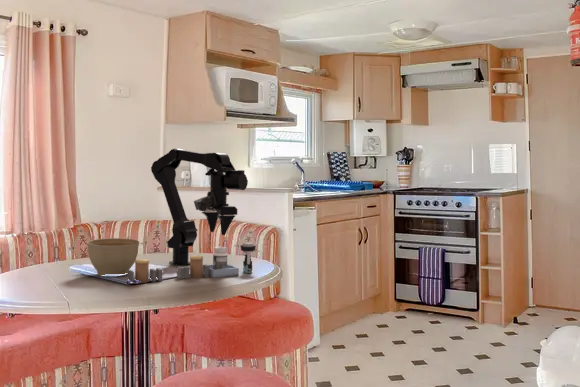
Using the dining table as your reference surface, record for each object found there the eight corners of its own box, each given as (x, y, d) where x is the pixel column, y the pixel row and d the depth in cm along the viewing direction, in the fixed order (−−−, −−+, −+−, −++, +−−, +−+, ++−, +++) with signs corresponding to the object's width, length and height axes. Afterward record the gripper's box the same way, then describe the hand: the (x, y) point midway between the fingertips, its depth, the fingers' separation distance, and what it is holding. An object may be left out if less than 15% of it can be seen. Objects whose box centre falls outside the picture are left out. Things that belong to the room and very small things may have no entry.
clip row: (127, 281, 176) (127, 270, 176) (205, 275, 190) (205, 264, 190) (130, 283, 174) (130, 272, 174) (209, 276, 188) (209, 266, 187)
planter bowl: (75, 276, 182) (75, 242, 181) (109, 268, 197) (110, 237, 196) (116, 281, 176) (117, 246, 175) (148, 273, 191) (149, 240, 190)
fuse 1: (133, 280, 178) (133, 259, 177) (146, 279, 180) (146, 258, 180) (137, 283, 174) (137, 261, 174) (150, 282, 177) (150, 260, 176)
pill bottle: (213, 270, 195) (213, 246, 194) (227, 270, 195) (227, 246, 195) (212, 273, 190) (213, 248, 189) (226, 273, 190) (227, 248, 190)
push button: (257, 274, 194) (258, 244, 194) (241, 274, 193) (242, 244, 192) (253, 270, 201) (254, 241, 200) (238, 270, 199) (239, 242, 199)
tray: (201, 272, 194) (201, 265, 194) (226, 270, 199) (226, 263, 199) (213, 277, 186) (213, 270, 186) (238, 275, 191) (238, 267, 191)
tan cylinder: (187, 276, 187) (188, 256, 187) (199, 275, 190) (200, 255, 189) (192, 278, 184) (193, 258, 184) (204, 277, 186) (205, 257, 186)
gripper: (186, 187, 204) (185, 231, 204) (208, 190, 188) (207, 237, 189) (215, 187, 210) (214, 230, 210) (238, 190, 194) (237, 236, 195)
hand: (217, 233), depth 201 cm, fingers open, 9 cm apart
